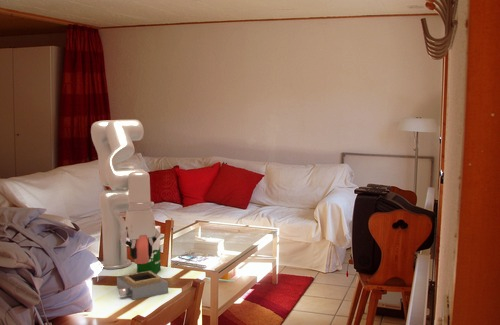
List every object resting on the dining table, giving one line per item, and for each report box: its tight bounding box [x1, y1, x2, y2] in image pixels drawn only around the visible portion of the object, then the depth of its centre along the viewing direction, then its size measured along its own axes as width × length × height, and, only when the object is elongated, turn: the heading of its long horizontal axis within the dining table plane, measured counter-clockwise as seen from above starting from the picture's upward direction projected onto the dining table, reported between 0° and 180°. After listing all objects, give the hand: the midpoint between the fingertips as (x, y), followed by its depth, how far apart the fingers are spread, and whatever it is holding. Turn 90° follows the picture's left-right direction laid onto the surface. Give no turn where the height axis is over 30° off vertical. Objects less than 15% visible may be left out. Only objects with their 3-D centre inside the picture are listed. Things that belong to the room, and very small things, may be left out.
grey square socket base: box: [116, 271, 169, 301], centre depth 195 cm, size 16×16×5 cm
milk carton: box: [136, 225, 162, 274], centre depth 217 cm, size 9×9×20 cm
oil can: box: [133, 235, 149, 265], centre depth 194 cm, size 5×5×13 cm
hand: (141, 256), depth 194 cm, fingers closed on oil can, 5 cm apart
